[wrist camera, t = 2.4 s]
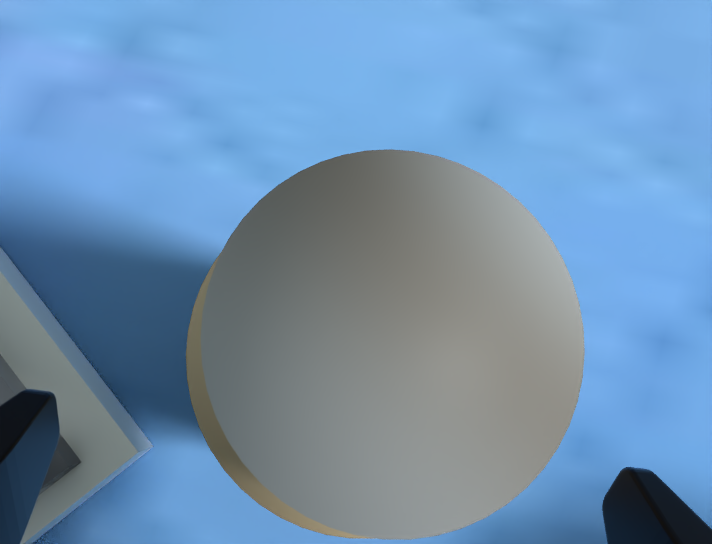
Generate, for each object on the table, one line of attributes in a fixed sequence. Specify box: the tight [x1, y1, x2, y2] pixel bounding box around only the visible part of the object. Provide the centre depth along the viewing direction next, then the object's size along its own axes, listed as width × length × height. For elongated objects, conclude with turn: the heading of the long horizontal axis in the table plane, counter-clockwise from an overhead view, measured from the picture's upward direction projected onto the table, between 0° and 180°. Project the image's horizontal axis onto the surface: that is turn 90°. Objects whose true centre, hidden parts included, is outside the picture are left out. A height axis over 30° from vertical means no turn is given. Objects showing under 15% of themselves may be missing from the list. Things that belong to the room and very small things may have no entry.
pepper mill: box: [186, 150, 584, 539], centre depth 13 cm, size 5×5×12 cm
